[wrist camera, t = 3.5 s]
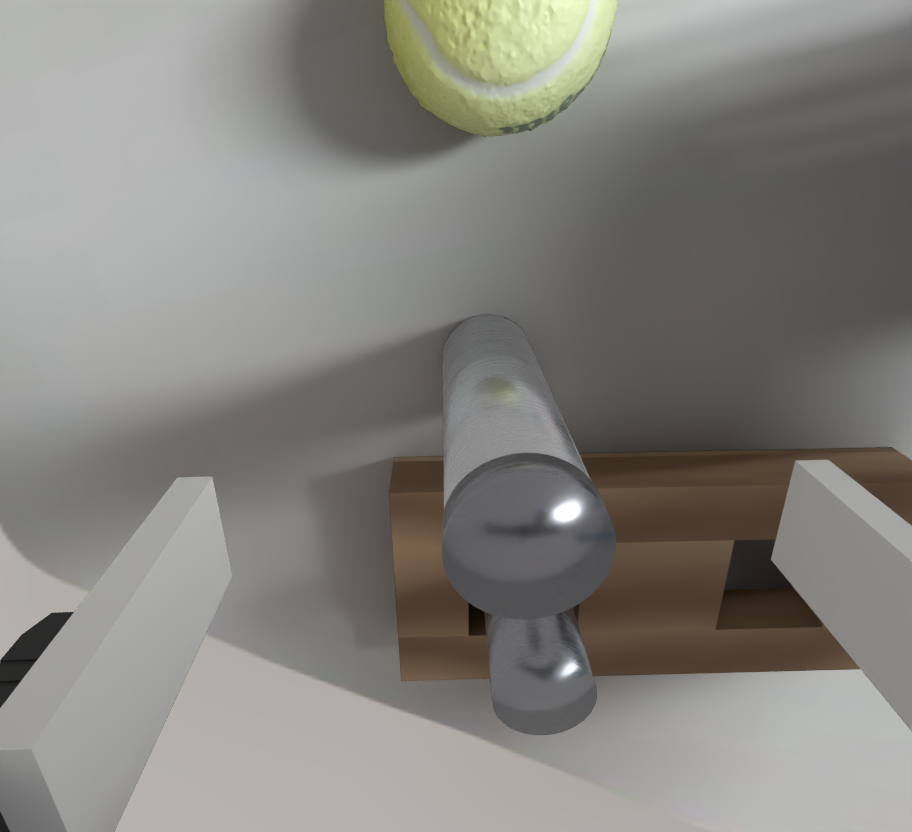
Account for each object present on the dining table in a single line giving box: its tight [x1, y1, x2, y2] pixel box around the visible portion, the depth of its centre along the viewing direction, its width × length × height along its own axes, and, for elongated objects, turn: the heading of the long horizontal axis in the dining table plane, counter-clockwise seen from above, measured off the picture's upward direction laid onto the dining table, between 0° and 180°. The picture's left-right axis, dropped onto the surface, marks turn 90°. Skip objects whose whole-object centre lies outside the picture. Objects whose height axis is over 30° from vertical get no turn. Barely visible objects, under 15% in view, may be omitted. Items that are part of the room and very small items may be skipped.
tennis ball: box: [384, 0, 618, 137], centre depth 17 cm, size 6×7×7 cm
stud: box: [442, 314, 616, 620], centre depth 19 cm, size 4×4×13 cm
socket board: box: [389, 447, 912, 681], centre depth 27 cm, size 10×22×3 cm, turn 91°
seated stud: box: [484, 607, 597, 735], centre depth 25 cm, size 4×4×8 cm
